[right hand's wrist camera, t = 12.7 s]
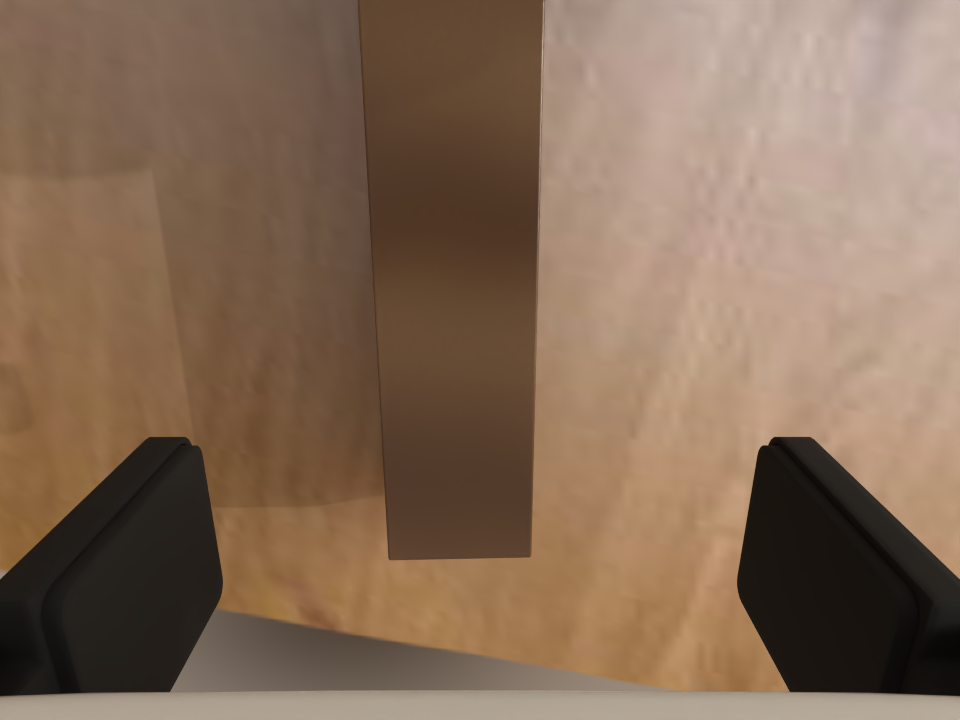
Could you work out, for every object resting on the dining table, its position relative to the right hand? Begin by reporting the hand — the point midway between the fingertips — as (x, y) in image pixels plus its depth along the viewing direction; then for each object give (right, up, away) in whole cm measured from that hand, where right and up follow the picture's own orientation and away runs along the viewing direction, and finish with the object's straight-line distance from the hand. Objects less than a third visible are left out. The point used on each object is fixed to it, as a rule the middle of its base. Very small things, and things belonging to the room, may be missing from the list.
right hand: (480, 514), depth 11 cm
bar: (-1, +35, +6) cm, 36 cm away
